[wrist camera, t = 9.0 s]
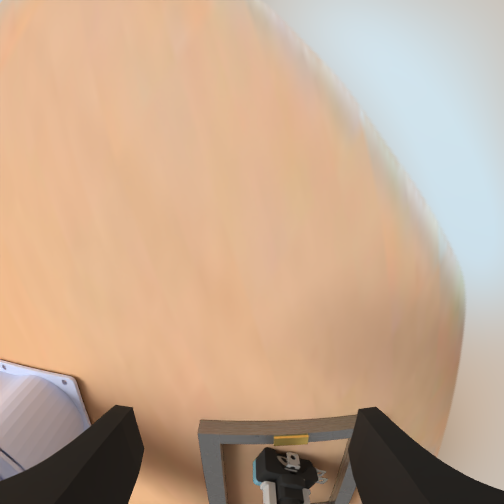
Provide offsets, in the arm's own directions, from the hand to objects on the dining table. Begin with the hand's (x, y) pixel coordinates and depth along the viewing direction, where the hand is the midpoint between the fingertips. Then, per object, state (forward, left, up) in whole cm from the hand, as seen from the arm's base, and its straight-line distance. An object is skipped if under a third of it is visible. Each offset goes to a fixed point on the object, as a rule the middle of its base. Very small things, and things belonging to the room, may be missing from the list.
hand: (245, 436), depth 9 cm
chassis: (+3, -16, -10) cm, 19 cm away
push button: (+3, -14, -11) cm, 18 cm away
